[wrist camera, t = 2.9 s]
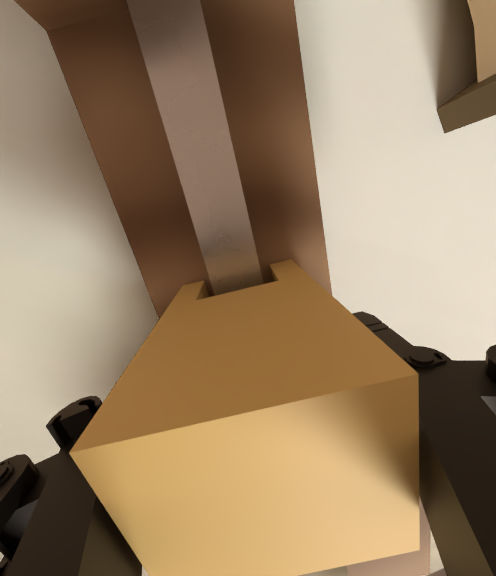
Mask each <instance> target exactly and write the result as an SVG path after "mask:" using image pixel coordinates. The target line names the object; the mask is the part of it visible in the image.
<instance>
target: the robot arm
mask: <svg viewBox="0 0 496 576" xmlns="http://www.w3.org/2000/svg"><path fill="white" fill-rule="evenodd" d="M353 315H354V316H355V317H356V318H357V319H358V320H359V321H360V322H362V323H363V324H364V325H365V326H366V327H367V328H368V329H369V330H370V331H372V332H373V333H374V334H375V335H376V336H377V337H378V338H379V339H380V340H382V341H383V342H384V343H385V344H386V345H387V346H388V347H389V348H390V349H392V350H393V351H394V352H395V353H396V354H397V355H398V356H399V357H400V358H402V359H403V360H404V361H405V362H406V363H407V364H408V365H409V366H410V367H412V368H413V369H414V370H415V371H416V372H417V373H418V382H419V496H420V499H421V502H422V505H423V508H424V511H425V514H426V517H427V519H428V522H429V525H430V528H431V531H432V534H433V537H434V540H435V543H436V546H437V549H438V551H439V554H440V557H441V560H442V563H443V566H444V569H445V572H446V575H447V576H496V345H494V346H491V347H490V348H489V349H488V350H487V351H486V361H455V360H451V359H450V358H449V357H447V356H446V355H445V354H444V353H441V352H439V351H437V350H435V349H431V348H427V347H421V346H413V345H411V344H410V343H409V342H407V341H406V340H405V339H403V338H402V337H401V336H400V335H398V334H397V333H396V332H394V331H393V330H392V329H391V328H390V329H389V327H388V326H387V325H385V324H384V323H382V322H381V321H380V320H379V319H378V318H376V317H375V316H374V315H371V314H368V313H365V312H358V313H353ZM102 404H103V403H102V402H101V400H100V398H98V397H97V396H89V397H85V398H82V399H79V400H77V401H75V402H73V403H71V404H70V405H68V406H67V407H65V408H64V409H62V410H61V411H59V412H58V413H57V414H56V415H55V416H54V417H53V418H52V419H51V420H50V421H49V423H48V424H47V425H46V427H47V429H48V430H49V432H50V433H51V435H52V436H53V438H54V439H55V441H56V442H57V444H58V445H59V447H60V448H61V449H60V451H59V453H58V454H56V455H54V456H52V457H50V458H47V459H45V460H43V461H41V462H39V463H37V464H35V465H34V464H33V462H32V461H31V459H30V458H29V457H28V456H27V455H25V454H23V455H16V456H14V457H11V458H9V459H6V460H4V461H2V462H0V552H1V553H2V554H3V555H4V557H3V559H2V560H1V562H0V576H142V564H141V562H140V561H139V559H138V558H137V556H136V555H135V553H134V551H133V550H132V548H131V547H130V545H129V544H128V542H127V541H126V539H125V538H124V536H123V535H122V533H121V532H120V530H119V529H118V527H117V526H116V524H115V523H114V521H113V519H112V518H111V516H110V515H109V513H108V512H107V510H106V509H105V507H104V506H103V504H102V503H101V501H100V500H99V498H98V497H97V495H96V494H95V492H94V490H93V489H92V487H91V486H90V484H89V483H88V481H87V480H86V478H85V477H84V475H83V474H82V472H81V471H80V469H79V468H78V466H77V465H76V463H75V462H74V460H73V458H72V457H71V455H70V454H69V452H70V451H71V449H72V448H73V446H74V445H75V443H76V442H77V440H78V439H79V437H80V436H81V434H82V433H83V432H84V430H85V429H86V427H87V426H88V424H89V423H90V421H91V420H92V418H93V417H94V415H95V414H96V412H97V411H98V409H99V408H100V406H101V405H102Z"/></svg>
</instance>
